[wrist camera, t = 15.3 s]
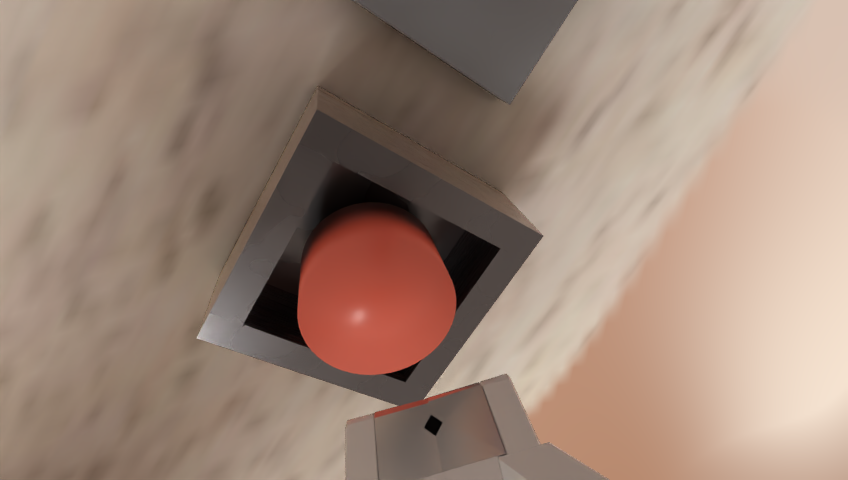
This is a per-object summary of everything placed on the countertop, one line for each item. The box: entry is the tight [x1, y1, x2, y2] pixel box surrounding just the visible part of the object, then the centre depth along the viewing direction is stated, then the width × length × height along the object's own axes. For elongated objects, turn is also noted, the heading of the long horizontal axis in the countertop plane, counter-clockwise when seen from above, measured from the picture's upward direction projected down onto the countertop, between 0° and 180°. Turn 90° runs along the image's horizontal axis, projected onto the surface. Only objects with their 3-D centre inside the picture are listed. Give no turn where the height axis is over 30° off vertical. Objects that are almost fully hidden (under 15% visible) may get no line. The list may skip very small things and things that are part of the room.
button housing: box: [197, 86, 543, 406], centre depth 15 cm, size 7×7×4 cm
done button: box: [297, 202, 456, 375], centre depth 13 cm, size 4×4×2 cm
